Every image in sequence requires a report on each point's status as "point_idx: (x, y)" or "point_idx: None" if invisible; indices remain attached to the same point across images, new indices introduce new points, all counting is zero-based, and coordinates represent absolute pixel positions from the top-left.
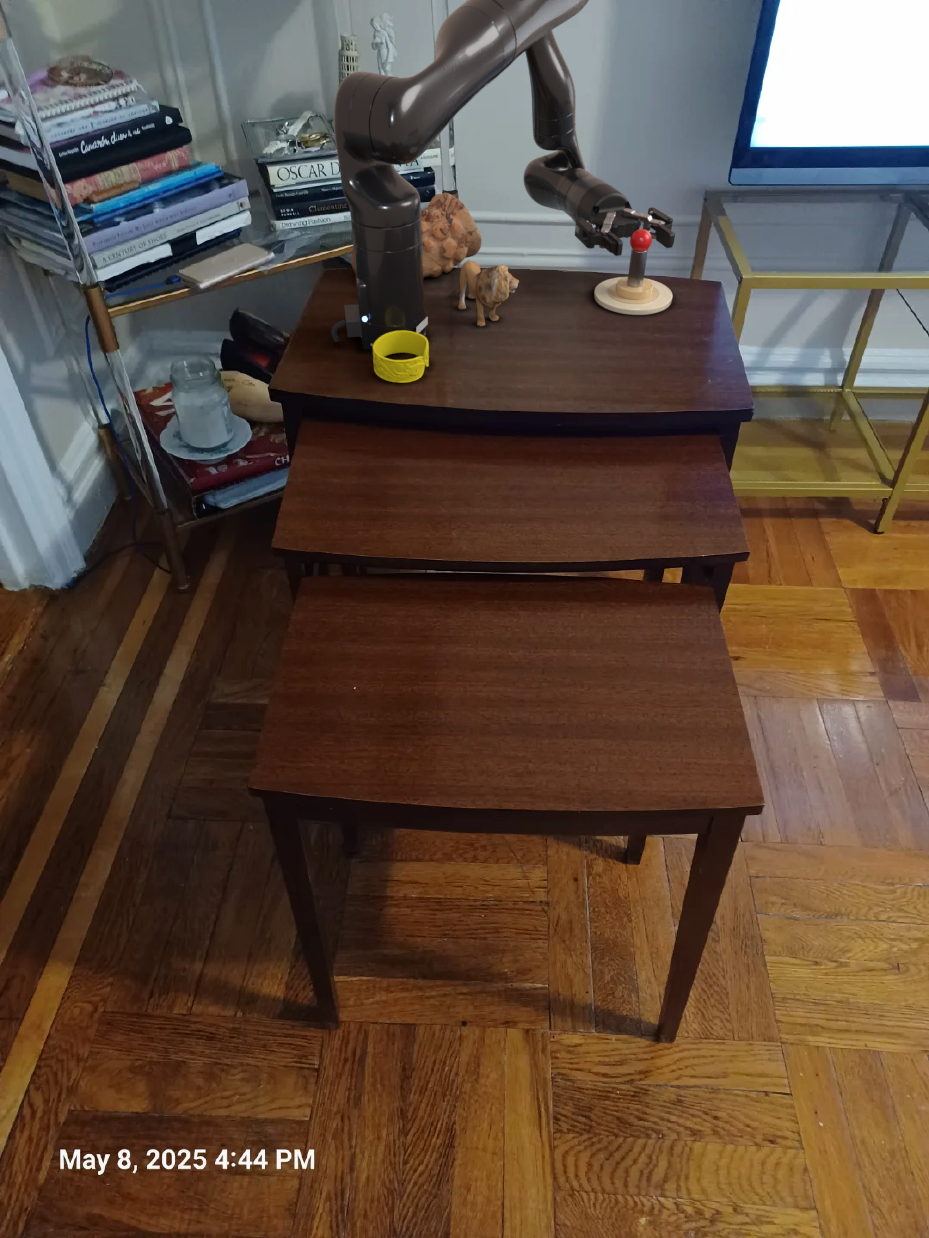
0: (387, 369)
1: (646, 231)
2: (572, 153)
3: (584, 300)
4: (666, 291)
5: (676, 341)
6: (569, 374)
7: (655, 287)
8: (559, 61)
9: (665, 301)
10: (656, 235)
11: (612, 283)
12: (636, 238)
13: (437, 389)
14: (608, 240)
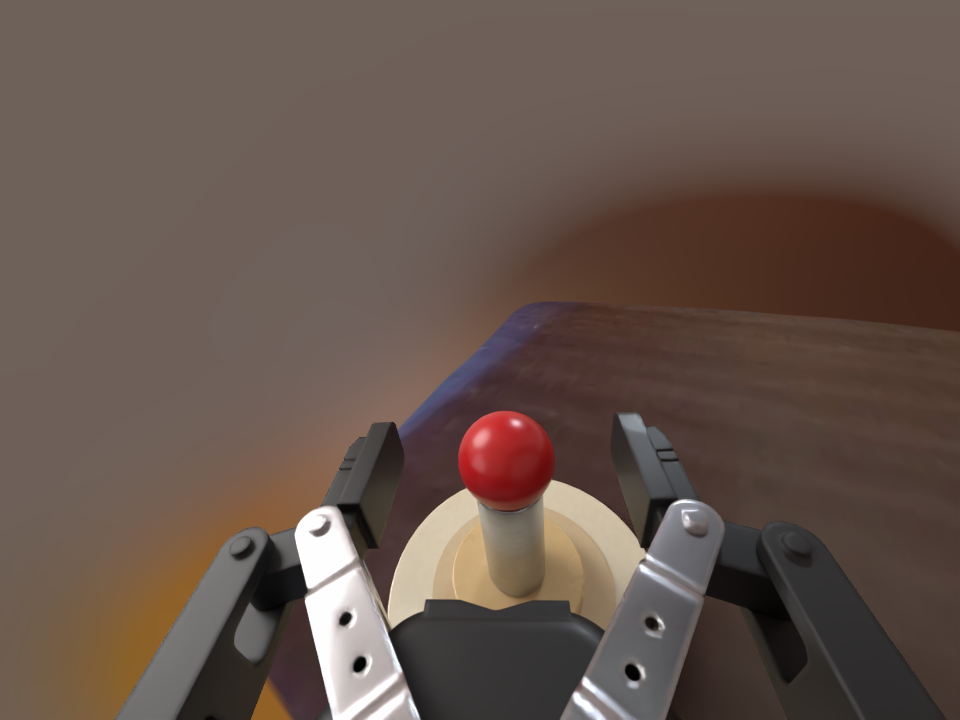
0: None
1: (488, 417)
2: None
3: (711, 644)
4: (418, 551)
5: (525, 393)
6: (750, 358)
7: (428, 593)
8: None
9: (462, 498)
10: (363, 551)
11: None
12: (540, 426)
13: None
14: (676, 457)
